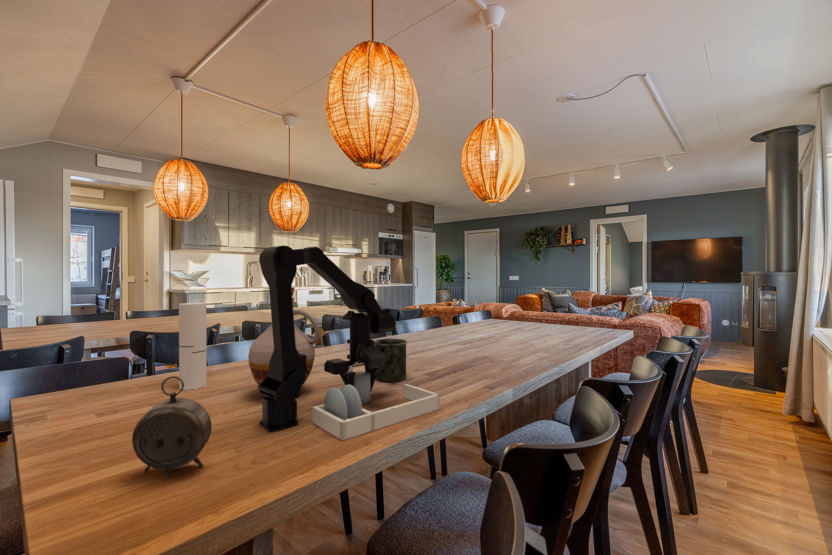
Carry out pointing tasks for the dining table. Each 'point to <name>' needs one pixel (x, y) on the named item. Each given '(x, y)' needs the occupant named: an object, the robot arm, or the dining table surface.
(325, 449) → the dining table surface
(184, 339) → the cylindrical container
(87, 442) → the dining table surface
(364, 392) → the grey rectangular slab
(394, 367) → the mug
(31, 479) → the dining table surface
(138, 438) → the alarm clock
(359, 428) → the dish rack
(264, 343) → the jug
